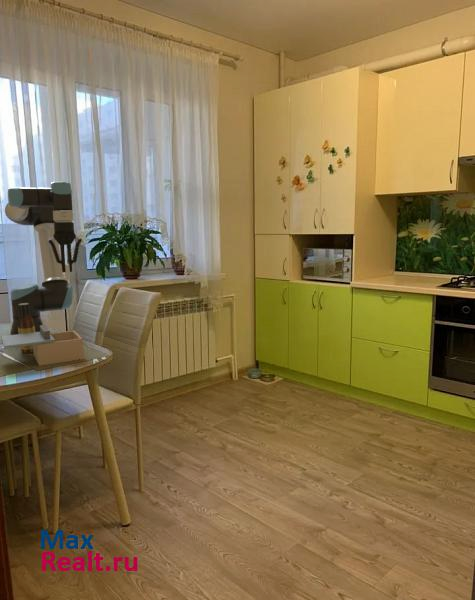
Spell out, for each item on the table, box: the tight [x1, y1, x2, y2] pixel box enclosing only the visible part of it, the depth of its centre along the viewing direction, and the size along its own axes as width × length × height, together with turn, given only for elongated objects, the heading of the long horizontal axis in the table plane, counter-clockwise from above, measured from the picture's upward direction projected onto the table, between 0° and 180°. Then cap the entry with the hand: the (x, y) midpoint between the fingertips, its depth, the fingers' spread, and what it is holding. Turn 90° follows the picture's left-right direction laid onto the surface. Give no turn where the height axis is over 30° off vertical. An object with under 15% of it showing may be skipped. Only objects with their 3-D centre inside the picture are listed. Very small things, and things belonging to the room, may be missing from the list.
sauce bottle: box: [18, 303, 35, 354], centre depth 190 cm, size 7×6×20 cm
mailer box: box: [32, 329, 85, 367], centre depth 182 cm, size 16×16×8 cm
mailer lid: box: [0, 324, 55, 349], centre depth 176 cm, size 17×17×4 cm
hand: (67, 280), depth 192 cm, fingers closed
